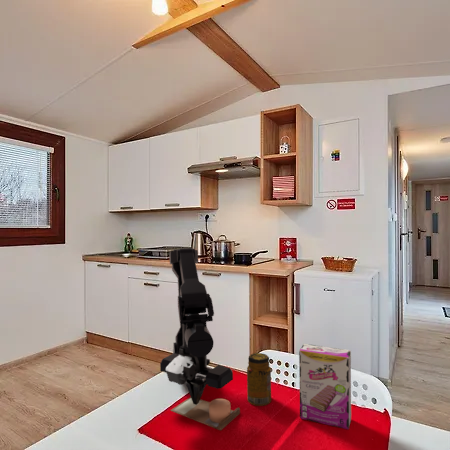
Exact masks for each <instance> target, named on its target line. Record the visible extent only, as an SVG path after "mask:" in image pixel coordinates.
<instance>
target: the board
mask: <svg viewBox="0 0 450 450" xmlns="http://www.w3.org/2000/svg"><path fill="white" fill-rule="evenodd" d="M210 402H211V401H206V400H204V399H201V398H200V401H199V403H198V404H197V405H195V404H193V401H192V399H191V396H190V397H188V398H187V399H185V400H183V401H182V402H180V404H178V405H176V406H175V407H173V408H172V409H170V411H171V412H173V413H176V414H178V415H181V416H183V417H186V418H188V419H190V420H194V421H196V422H198V423H201V424H204V425H207V426H208V427H211V428H213V429H216V430H218V431H223V429H224V428H226V427H227V426H228V425H229V424H230V423H231V422H232V421H233V420H234V419H235V418H237V416H239V415H240V414H241V408H240V407H237V408H235V409H234V410H233V409H231V414H230V415H228V416H227V417H226V418H225V419H224V420H223V421H221V422H220V423H215V422H212V421H211V420H210V418H209V403H210Z"/></svg>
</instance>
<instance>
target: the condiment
mask: <svg viewBox="0 0 450 450" xmlns="http://www.w3.org/2000/svg"><path fill="white" fill-rule="evenodd" d="M247 364H248V365H247V367H246V377H247V378H246V381H247V383H246V385H247V387H246V389H247V392H246V393H247V402H248V403H249V404H251V405H253V406H256V407H257V406H258V407H263V406H264V407H265V406H267V405H269V404H270V403H271V402H272V375H271V374H272V371H271V370H272V369H271V366H270V357H269V355H268V354H265V353H261V352H255V353H251V354H250V355H249V356H248V362H247Z"/></svg>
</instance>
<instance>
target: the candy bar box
mask: <svg viewBox="0 0 450 450" xmlns="http://www.w3.org/2000/svg"><path fill="white" fill-rule="evenodd" d="M351 351H352V350H350V349H345V348H336V347H329V346H323V345H316V344H310V343H309V344H307V343H303V344H302V346H301V347H300V349H299V351H298V352H299V353H298V354H299V355H298V359H299V361H298V362H299V373H298V374H299V377H298V378H299V419H300V418H301V420H306V421H310V422H315V423H318V424H319V423H320V424H324V425H328V426H331V427H336V428H340V429H344V430H349V429H350V424H351V421H352V371H351V369H352V366H351V364H352V354H351V353H352V352H351Z"/></svg>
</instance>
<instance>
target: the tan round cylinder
mask: <svg viewBox="0 0 450 450" xmlns="http://www.w3.org/2000/svg"><path fill="white" fill-rule="evenodd" d="M209 402H210V403H209V418H210V420H211V421H212V422H215V423H220V422H221V421H223V420H224V419H225V418H226V417H227V416H228V415H230V414H231V410H232V409H231V402H230V401H229V400H228V399H225V398H215V399H212V400H211V401H209Z"/></svg>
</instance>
